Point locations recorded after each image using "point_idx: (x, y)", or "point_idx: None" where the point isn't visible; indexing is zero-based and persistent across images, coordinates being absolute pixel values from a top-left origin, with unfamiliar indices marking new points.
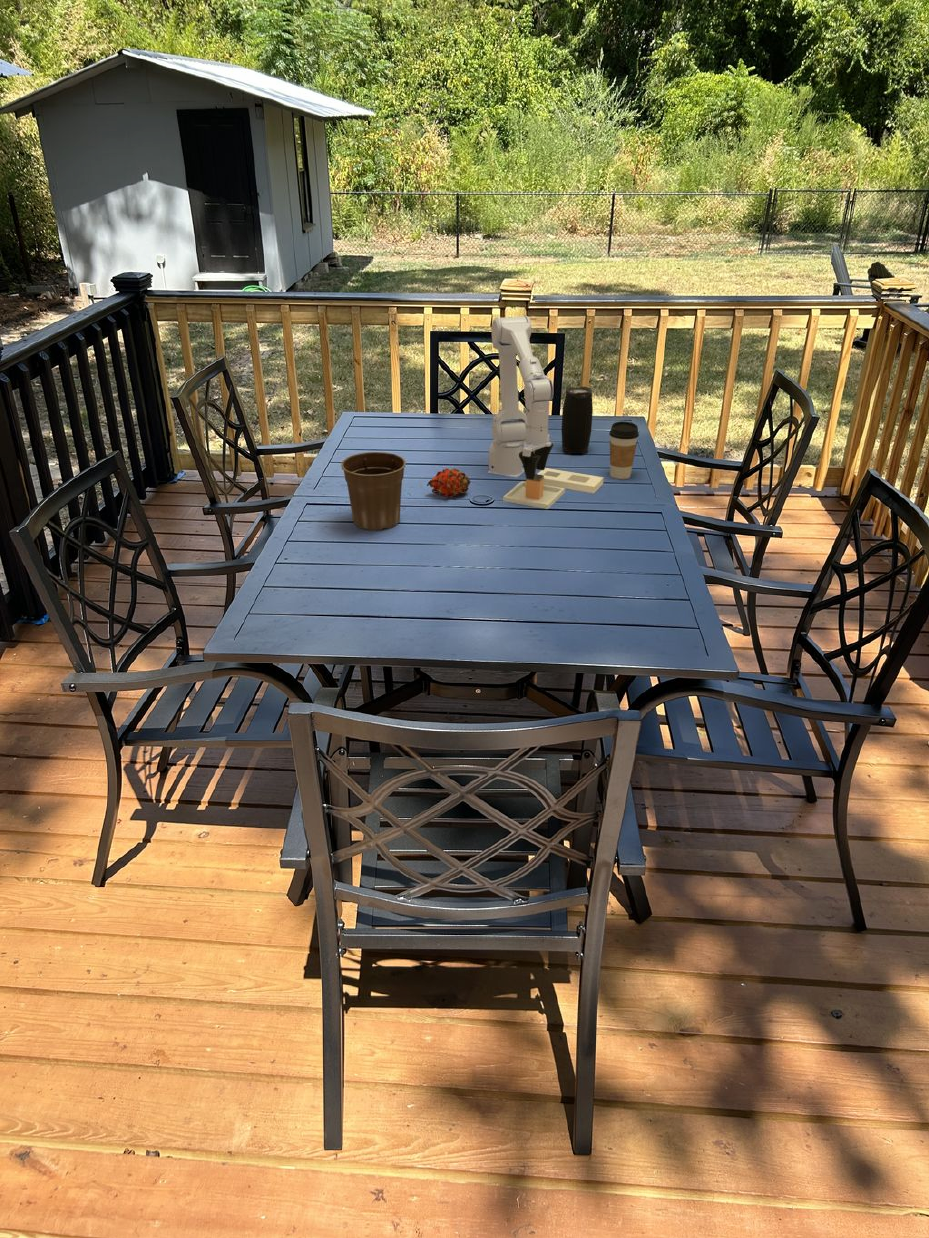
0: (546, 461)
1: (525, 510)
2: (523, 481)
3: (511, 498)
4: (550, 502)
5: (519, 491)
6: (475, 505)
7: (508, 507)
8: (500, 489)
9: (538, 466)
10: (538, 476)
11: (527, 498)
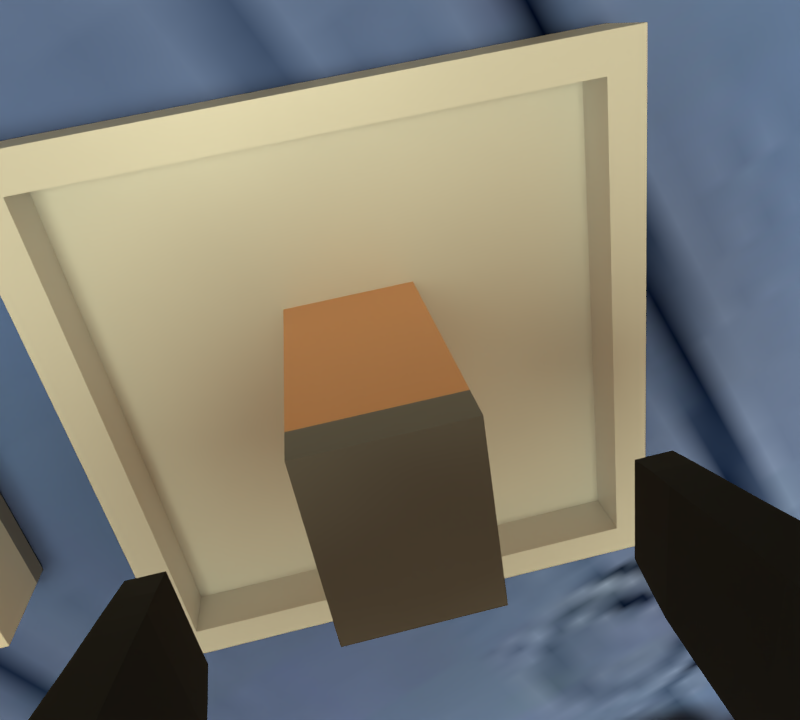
0: (50, 717)
1: (688, 251)
2: None
3: None
4: (549, 41)
5: None
6: None
7: (686, 414)
8: (358, 675)
9: (189, 695)
10: (394, 494)
11: None
